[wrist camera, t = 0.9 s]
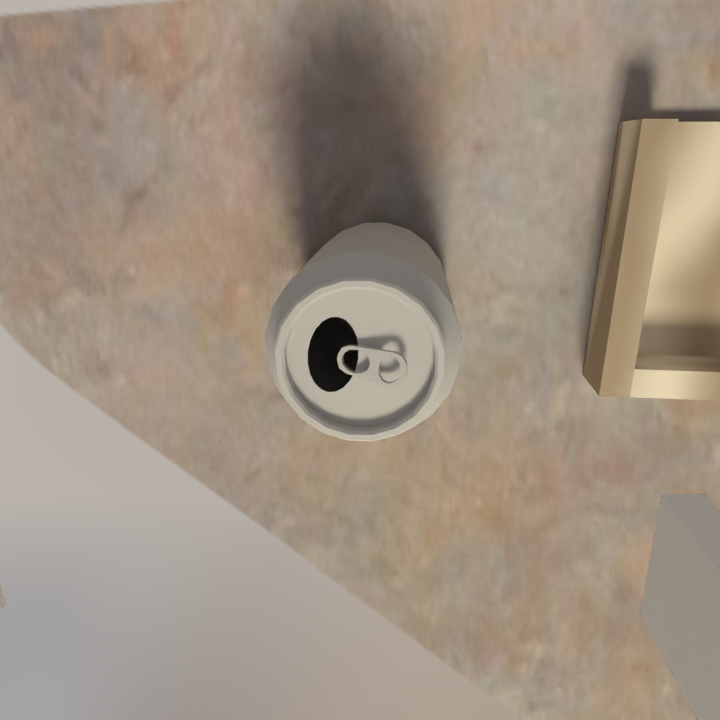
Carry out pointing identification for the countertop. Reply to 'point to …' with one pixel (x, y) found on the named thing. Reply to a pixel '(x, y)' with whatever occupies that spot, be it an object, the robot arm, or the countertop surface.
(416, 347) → the can
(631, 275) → the can rest
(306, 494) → the countertop surface
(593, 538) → the countertop surface
